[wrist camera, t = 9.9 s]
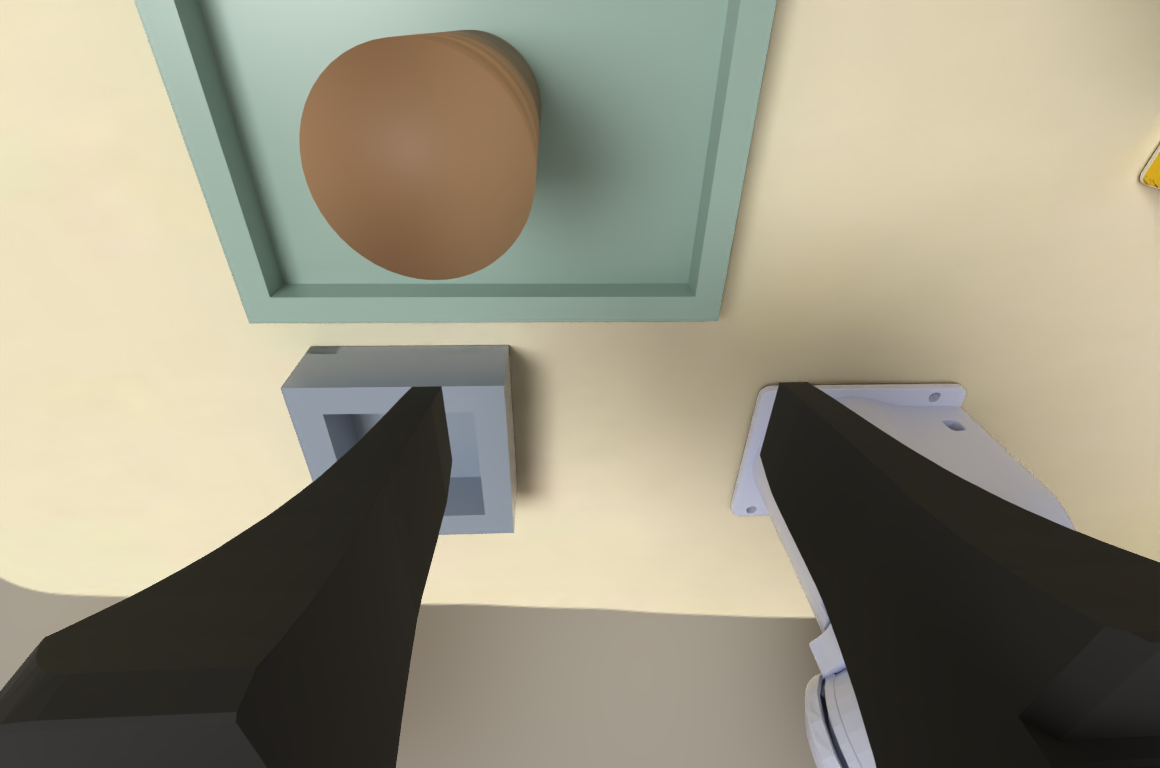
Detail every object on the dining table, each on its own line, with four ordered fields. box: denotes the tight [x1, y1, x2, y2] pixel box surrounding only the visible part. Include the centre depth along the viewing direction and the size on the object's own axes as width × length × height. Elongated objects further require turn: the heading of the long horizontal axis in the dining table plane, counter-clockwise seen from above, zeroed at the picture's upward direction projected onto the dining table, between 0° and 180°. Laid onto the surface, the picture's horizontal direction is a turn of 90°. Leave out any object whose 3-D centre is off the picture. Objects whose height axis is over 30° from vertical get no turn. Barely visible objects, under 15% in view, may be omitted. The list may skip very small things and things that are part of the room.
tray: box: [134, 0, 777, 323], centre depth 17 cm, size 17×14×2 cm
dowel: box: [299, 30, 541, 280], centre depth 13 cm, size 4×4×9 cm
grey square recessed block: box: [281, 345, 517, 535], centre depth 23 cm, size 8×8×3 cm
